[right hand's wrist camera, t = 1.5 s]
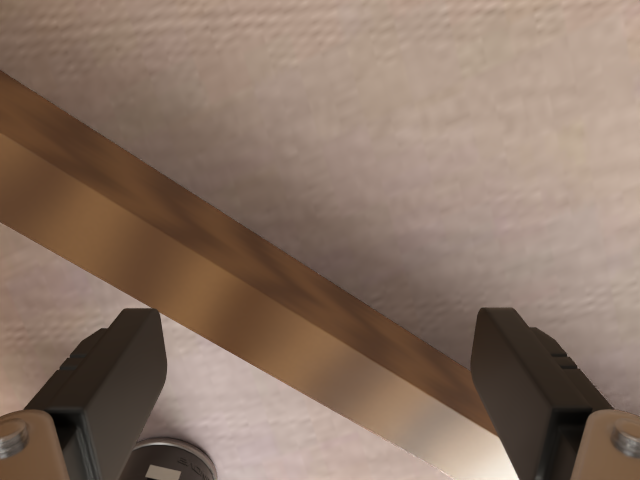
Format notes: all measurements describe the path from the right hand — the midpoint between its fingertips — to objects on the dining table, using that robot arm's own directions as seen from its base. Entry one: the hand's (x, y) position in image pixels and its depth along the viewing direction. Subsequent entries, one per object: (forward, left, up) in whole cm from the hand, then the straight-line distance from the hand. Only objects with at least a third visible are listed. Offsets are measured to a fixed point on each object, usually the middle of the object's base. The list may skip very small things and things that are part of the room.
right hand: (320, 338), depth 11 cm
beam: (-6, -12, -22) cm, 26 cm away
